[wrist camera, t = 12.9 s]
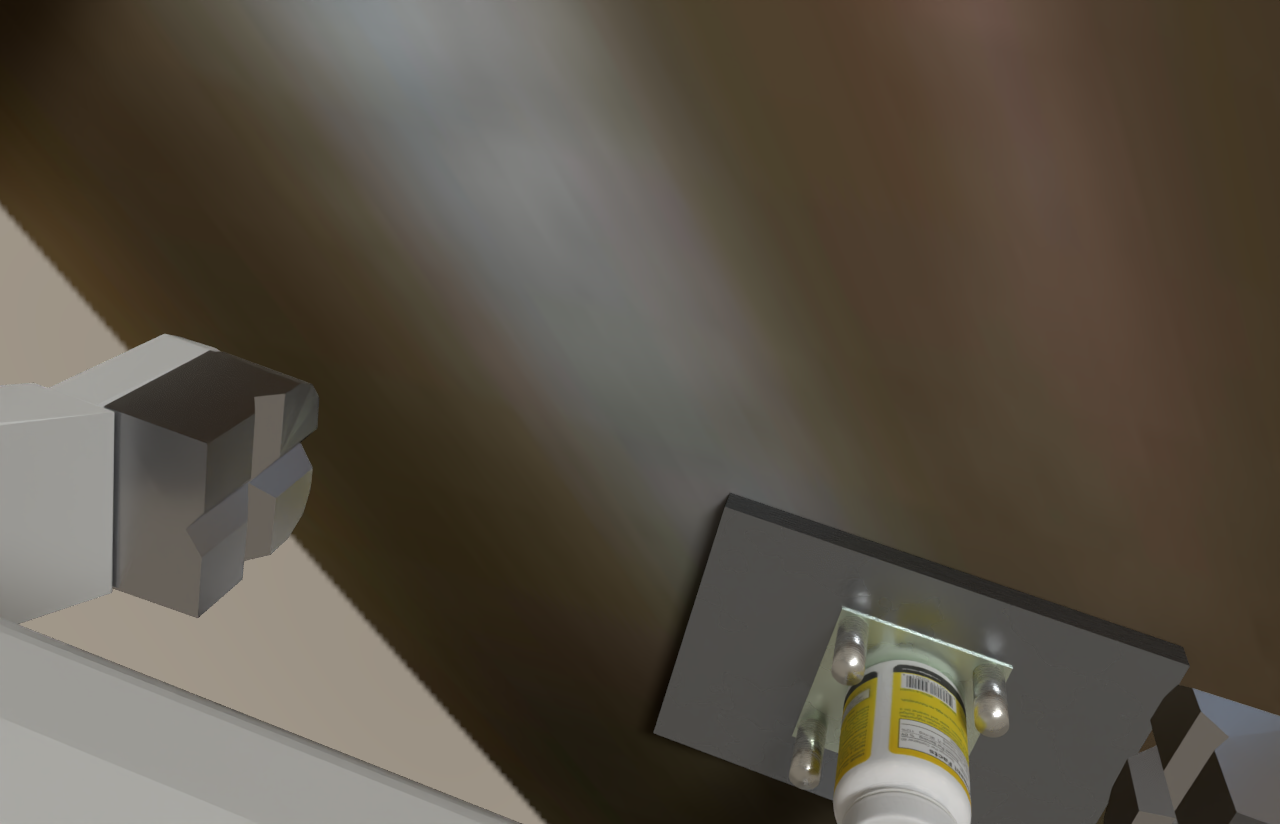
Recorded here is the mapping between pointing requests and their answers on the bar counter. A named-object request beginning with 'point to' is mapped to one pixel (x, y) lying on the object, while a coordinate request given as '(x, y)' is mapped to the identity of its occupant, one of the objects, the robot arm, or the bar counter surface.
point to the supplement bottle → (903, 749)
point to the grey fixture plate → (906, 630)
